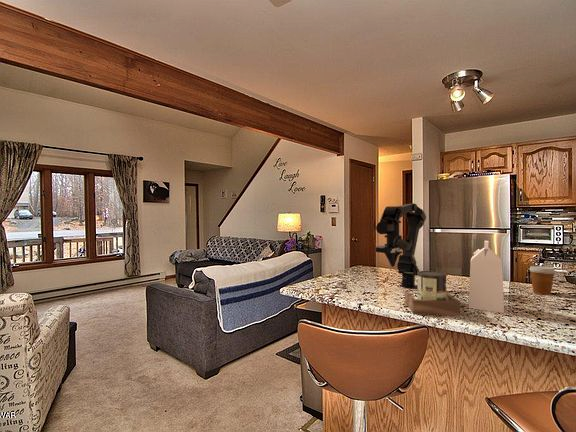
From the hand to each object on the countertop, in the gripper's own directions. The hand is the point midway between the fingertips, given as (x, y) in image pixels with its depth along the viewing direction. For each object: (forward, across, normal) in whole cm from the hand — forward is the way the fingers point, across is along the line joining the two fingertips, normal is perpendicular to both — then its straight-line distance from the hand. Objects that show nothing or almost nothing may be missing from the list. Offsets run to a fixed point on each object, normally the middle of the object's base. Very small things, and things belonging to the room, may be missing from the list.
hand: (392, 266), depth 150 cm
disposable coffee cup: (+12, +52, -43) cm, 69 cm away
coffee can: (+12, -10, -25) cm, 29 cm away
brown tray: (+12, -10, -24) cm, 28 cm away
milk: (+12, +10, -36) cm, 39 cm away
